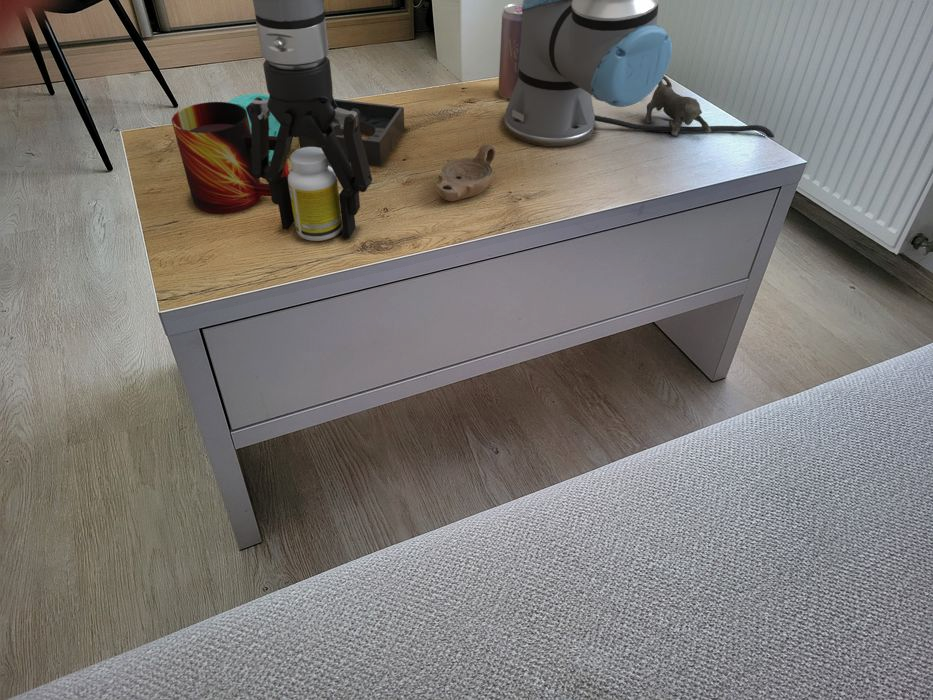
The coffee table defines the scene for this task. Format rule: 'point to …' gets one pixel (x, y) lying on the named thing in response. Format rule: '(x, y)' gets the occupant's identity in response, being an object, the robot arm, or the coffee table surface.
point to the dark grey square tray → (368, 128)
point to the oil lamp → (466, 175)
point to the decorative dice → (273, 123)
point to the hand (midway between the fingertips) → (319, 228)
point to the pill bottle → (314, 195)
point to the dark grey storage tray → (373, 148)
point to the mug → (219, 157)
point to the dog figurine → (675, 107)
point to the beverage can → (510, 49)
